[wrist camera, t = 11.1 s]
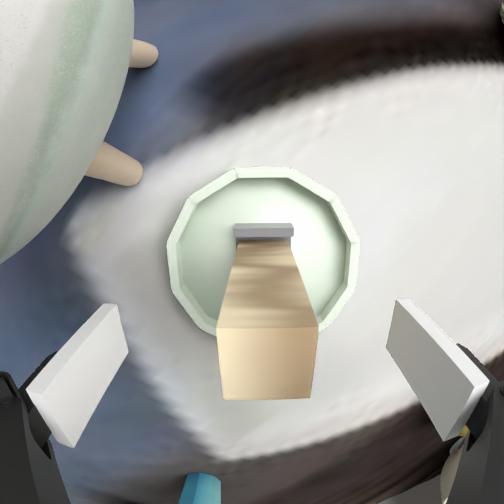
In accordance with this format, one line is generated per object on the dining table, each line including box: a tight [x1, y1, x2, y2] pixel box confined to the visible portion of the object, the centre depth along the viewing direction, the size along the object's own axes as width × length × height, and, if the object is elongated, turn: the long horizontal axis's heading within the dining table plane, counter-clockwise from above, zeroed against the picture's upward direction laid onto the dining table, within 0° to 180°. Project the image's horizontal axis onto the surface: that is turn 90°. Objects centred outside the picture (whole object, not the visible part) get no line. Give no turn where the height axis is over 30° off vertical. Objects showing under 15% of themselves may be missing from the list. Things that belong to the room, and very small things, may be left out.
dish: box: [166, 166, 360, 337], centre depth 21 cm, size 14×14×3 cm
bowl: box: [440, 437, 464, 504], centre depth 27 cm, size 16×16×10 cm
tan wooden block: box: [216, 240, 319, 400], centre depth 16 cm, size 4×4×12 cm
